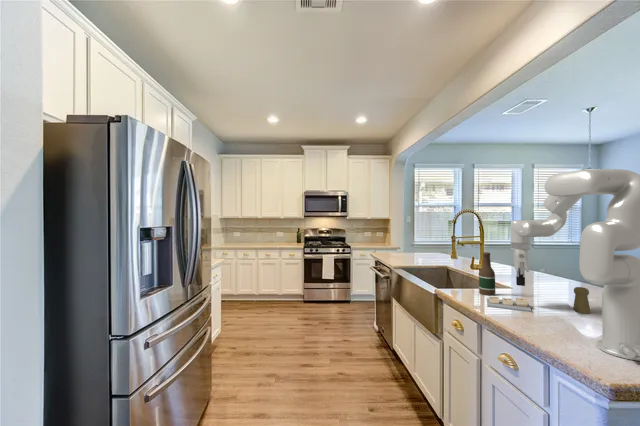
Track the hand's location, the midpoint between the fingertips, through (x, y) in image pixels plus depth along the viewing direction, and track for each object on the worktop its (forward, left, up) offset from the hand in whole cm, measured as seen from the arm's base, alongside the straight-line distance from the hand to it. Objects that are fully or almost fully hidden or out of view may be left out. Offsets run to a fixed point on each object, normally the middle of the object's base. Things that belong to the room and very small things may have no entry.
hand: (520, 285), depth 134 cm
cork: (+9, -24, -12) cm, 28 cm away
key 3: (0, +11, -11) cm, 15 cm away
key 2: (0, +5, -11) cm, 12 cm away
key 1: (0, 0, -10) cm, 10 cm away
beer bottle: (+18, +13, -12) cm, 25 cm away
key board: (0, +5, -12) cm, 13 cm away
